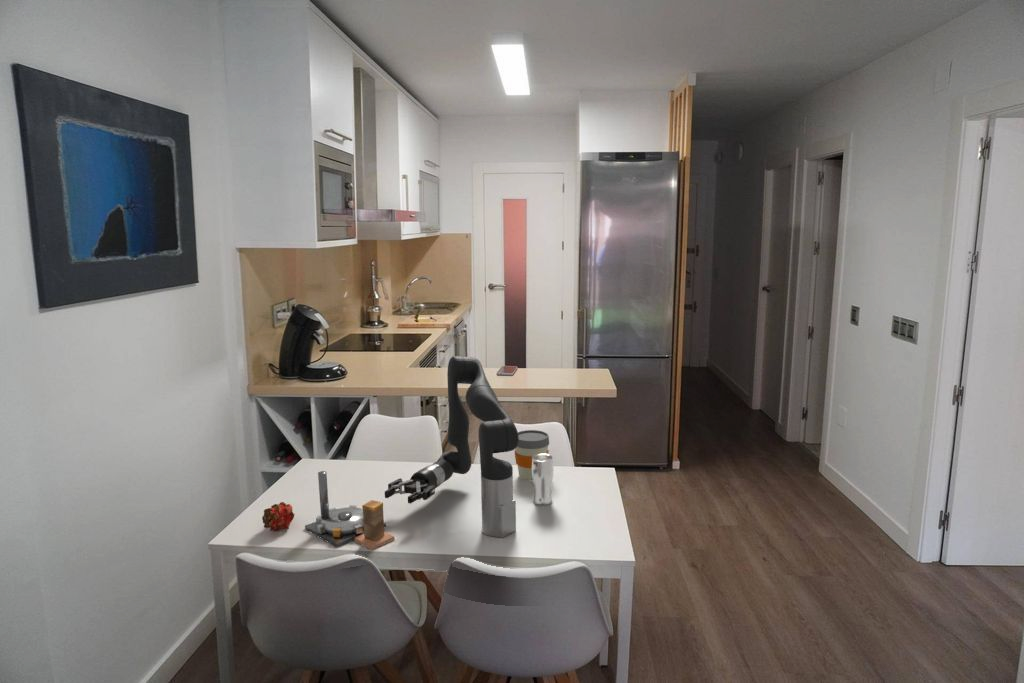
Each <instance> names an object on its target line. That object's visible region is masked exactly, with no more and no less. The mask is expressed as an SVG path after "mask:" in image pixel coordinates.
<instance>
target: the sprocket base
mask: <svg viewBox="0 0 1024 683" xmlns="http://www.w3.org/2000/svg"><path fill="white" fill-rule="evenodd" d="M386 527H387V523H386V522H384V528H386ZM304 529H305V530H306V531H308V532H309V531H310V532H309V533H311V532H312V533H311V534H313V533H314V534H313V535H314V536H316V537H318V536H319V537H318V538H320V537H321V538H320V539H322V538H323V539H322V540H323V541H325V540H326V542H327V541H328V542H327V543H329V542H330V543H329V544H331V545H332V544H333V545H332V546H334V545H335V547H337V548H339V547H341V546H343V545H345V544H348V543H351V542H354V541H355V537H357V536H360V535H362V534H364V529H363V532H362V533H359V534H355V533H350V534H343V535H341V537H333V534H329V533H326V532H325V533H322V534H320V533H319V532H317V525H316V521H314V522H312V523H308V524H306V525H304Z"/></svg>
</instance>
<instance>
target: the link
mask: <svg viewBox="0 0 1024 683" xmlns="http://www.w3.org/2000/svg"><path fill="white" fill-rule="evenodd" d="M361 507H362V508H361V509H363V522H364V538H365V539H368V540H372V541H377V540H378V539H380V538H381V537H383V536H384V532H385V527H384V523H385V522H384V520H385V519H384V518H385V517H384V502H382V501H378V500H374V499H373V500H372V499H371V500H369V501H367V502H366V503H363V504H362V506H361Z"/></svg>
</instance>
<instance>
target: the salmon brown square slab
mask: <svg viewBox="0 0 1024 683" xmlns="http://www.w3.org/2000/svg"><path fill="white" fill-rule="evenodd" d="M354 541H355V542H356V543H358V544H360V545H361V544H362V546H363V545H364V546H363V547H365V548H367V549H369V550H374V549H376V548H378V547H381V546H383V545H385V544H388V543H390V542H392V541H395V536H394V535H392V534H391V533H388V532H387V531H384V536H383V537H381V538H380V539H378V540H377V541H372V540H368V539H365V538H364V534H362V535H360V536H357V537H355V540H354Z"/></svg>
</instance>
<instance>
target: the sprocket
mask: <svg viewBox="0 0 1024 683" xmlns="http://www.w3.org/2000/svg"><path fill="white" fill-rule="evenodd" d="M327 474H328V473H327V471H325V470H321V471H319V472H317V478H318V479H317V480H318V493H319V503H320V505H319V506H320V515H317V516H316V517H315V522H316V525H317V532H319V533H320V534H322V533H325V532H326V533H329V534H333V537H341V535H343V534H350V533H355V534H359V533H362V532H363V529H364V522H363V509H362V508H360V507H357V505H356V504H355V505H353V504H351V505H349V506H348V507H341V508H340V507H339V508H336V507H332V508H330V506H329V505H330V504H329V491H328V490H329V489H328V477H327Z"/></svg>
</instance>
